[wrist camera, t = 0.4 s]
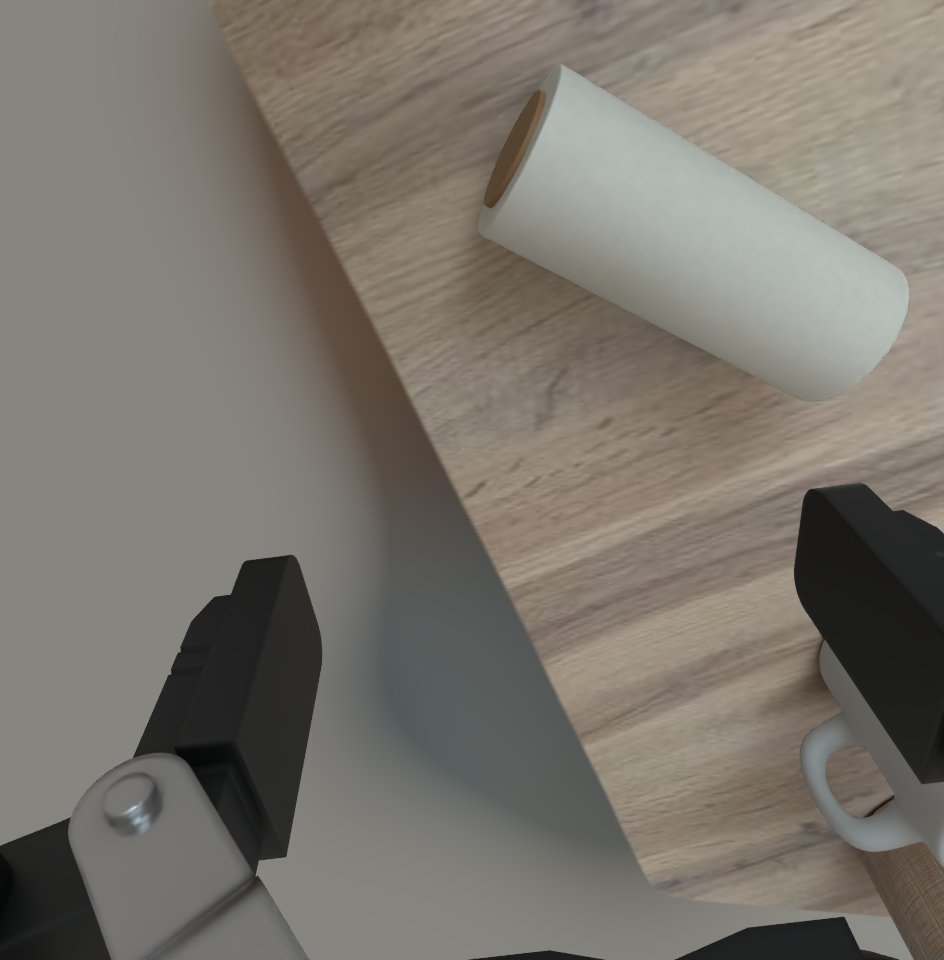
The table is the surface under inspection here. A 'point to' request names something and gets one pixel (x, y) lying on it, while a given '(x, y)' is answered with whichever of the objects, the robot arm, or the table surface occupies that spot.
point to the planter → (911, 894)
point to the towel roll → (689, 242)
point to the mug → (916, 807)
